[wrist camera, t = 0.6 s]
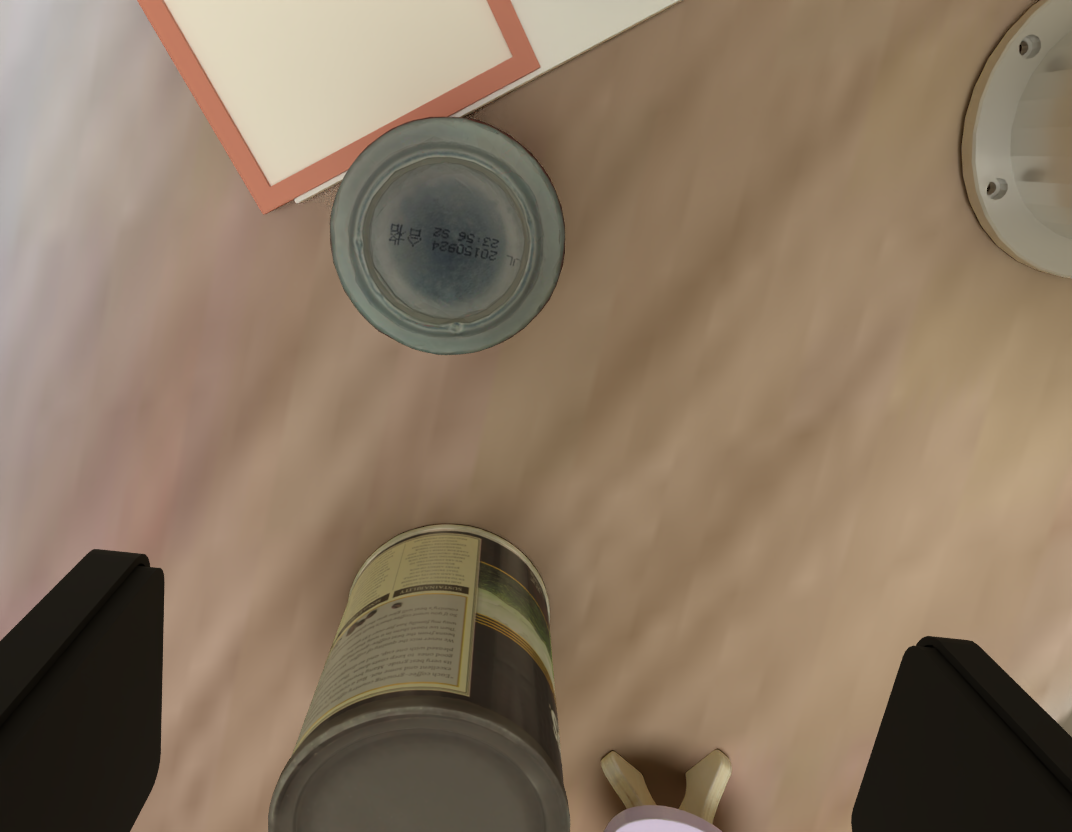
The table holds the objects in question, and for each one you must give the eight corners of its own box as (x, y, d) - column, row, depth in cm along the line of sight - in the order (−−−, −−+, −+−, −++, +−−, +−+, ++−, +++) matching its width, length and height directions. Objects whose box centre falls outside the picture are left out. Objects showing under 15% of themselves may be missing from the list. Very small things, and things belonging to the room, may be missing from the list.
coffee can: (580, 557, 40) (616, 759, 27) (510, 721, 43) (510, 977, 30) (380, 493, 39) (313, 672, 26) (321, 667, 42) (233, 909, 29)
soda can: (384, 119, 34) (321, 105, 22) (554, 132, 34) (580, 125, 23) (382, 288, 36) (323, 357, 24) (542, 299, 36) (559, 371, 25)
